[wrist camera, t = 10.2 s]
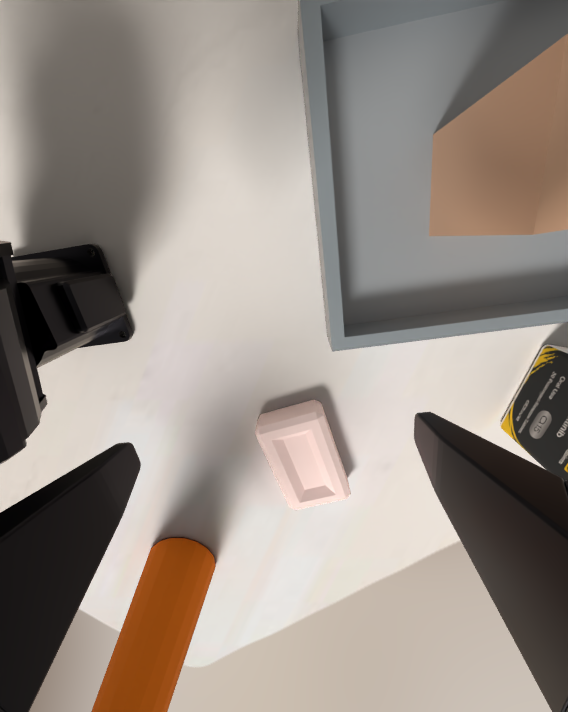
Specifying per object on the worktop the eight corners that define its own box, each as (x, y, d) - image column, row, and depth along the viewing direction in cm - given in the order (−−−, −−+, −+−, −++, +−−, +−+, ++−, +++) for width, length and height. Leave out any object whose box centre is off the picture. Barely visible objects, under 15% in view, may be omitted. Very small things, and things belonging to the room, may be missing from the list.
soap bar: (319, 395, 22) (321, 412, 20) (347, 478, 26) (353, 501, 23) (255, 413, 23) (251, 431, 21) (291, 491, 26) (291, 514, 24)
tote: (327, 335, 20) (332, 351, 17) (297, 32, 14) (298, -18, 11) (604, 299, 18) (658, 310, 16) (704, -61, 12) (820, -146, 10)
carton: (429, 236, 17) (533, 234, 9) (433, 134, 15) (567, 34, 8) (518, 222, 16) (701, 209, 9) (534, 115, 15) (780, -11, 7)
